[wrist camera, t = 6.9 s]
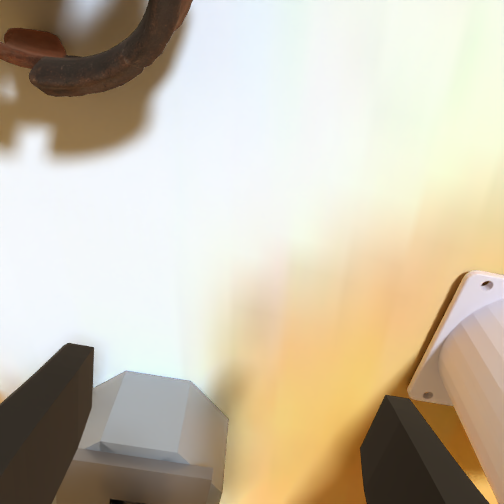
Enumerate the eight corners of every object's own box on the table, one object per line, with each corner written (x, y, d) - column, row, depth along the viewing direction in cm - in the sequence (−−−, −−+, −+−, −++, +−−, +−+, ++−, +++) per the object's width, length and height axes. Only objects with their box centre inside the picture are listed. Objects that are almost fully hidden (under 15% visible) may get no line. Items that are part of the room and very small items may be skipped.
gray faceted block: (236, 388, 25) (230, 472, 20) (212, 482, 29) (203, 569, 24) (42, 357, 24) (-7, 437, 20) (47, 459, 28) (6, 544, 24)
